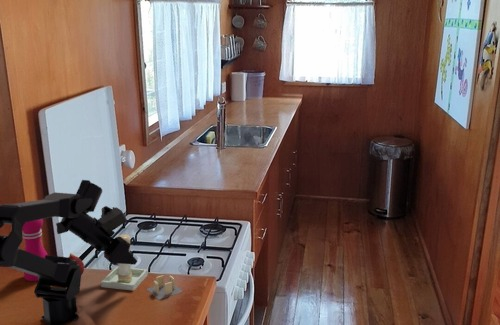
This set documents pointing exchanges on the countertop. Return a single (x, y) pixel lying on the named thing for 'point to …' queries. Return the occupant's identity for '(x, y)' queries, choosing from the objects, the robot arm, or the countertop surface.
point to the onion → (77, 262)
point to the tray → (112, 282)
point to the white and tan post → (124, 266)
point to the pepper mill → (33, 242)
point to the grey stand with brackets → (164, 288)
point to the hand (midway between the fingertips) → (128, 256)
